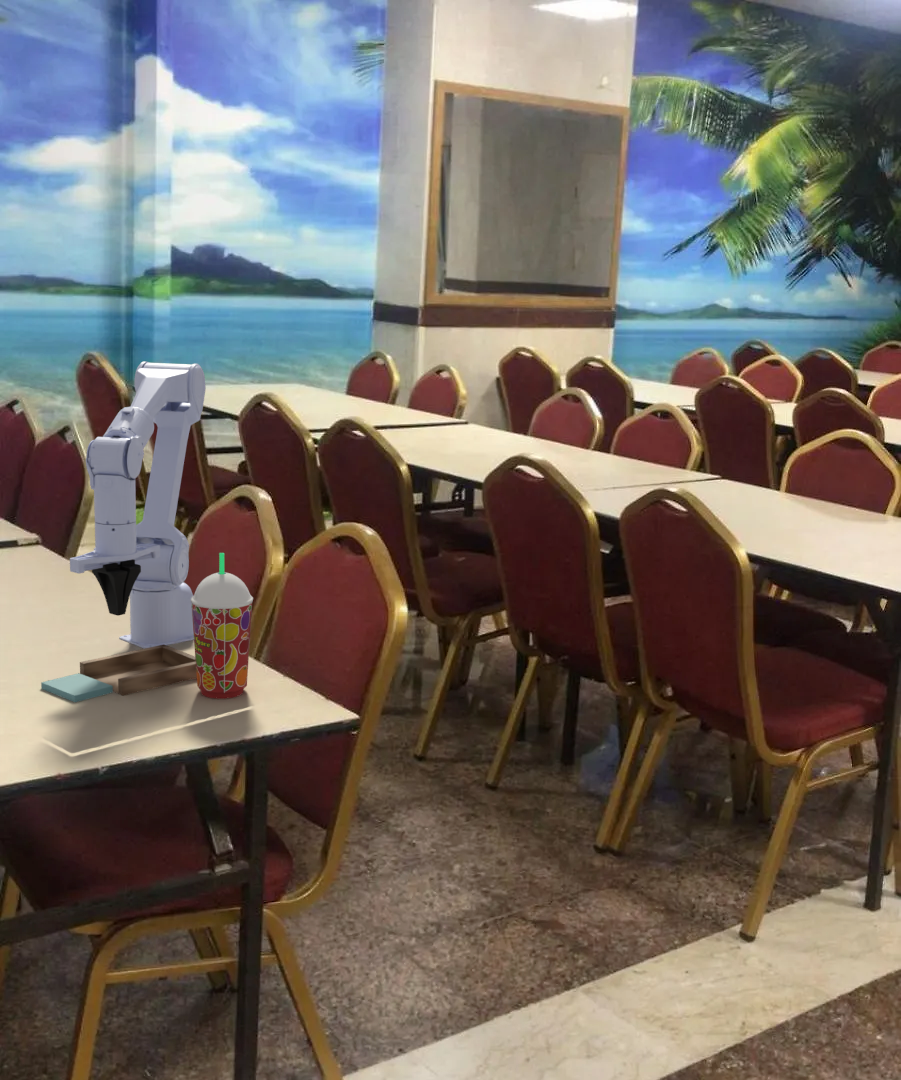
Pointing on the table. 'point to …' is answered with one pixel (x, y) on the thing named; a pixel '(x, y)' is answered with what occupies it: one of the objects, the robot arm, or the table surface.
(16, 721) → the table surface
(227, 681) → the smoothie
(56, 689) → the cover plate
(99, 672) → the walnut box
